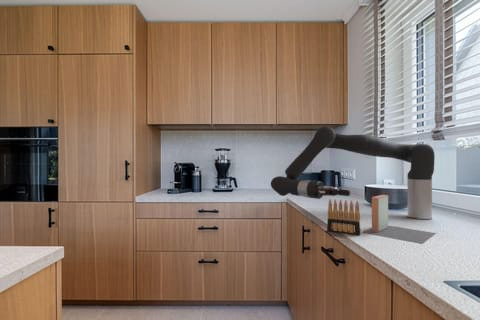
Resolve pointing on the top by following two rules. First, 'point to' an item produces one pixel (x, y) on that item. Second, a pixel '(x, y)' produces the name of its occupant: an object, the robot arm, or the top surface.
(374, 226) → the tile
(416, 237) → the mat
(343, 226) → the ammunition clip
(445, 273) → the top surface
